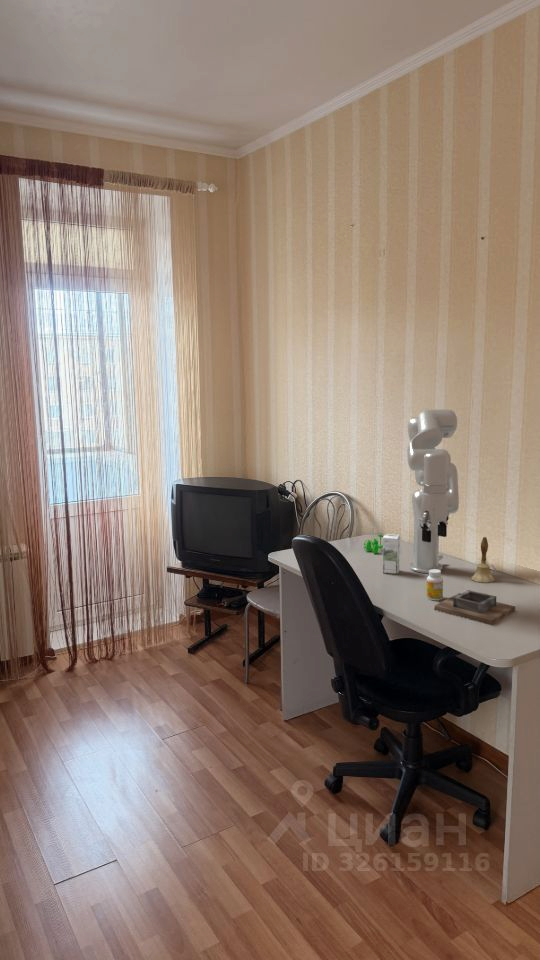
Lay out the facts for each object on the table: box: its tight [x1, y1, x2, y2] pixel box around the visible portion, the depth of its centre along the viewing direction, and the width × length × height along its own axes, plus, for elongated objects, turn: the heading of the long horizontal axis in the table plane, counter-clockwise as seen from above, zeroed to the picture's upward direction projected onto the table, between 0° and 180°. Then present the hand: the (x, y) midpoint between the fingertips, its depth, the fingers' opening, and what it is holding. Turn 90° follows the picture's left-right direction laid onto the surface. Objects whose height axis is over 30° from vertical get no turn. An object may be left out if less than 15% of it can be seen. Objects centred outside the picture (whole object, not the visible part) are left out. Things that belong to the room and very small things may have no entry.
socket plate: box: [434, 589, 516, 626], centre depth 225 cm, size 16×20×4 cm
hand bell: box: [471, 536, 496, 584], centre depth 255 cm, size 8×8×16 cm
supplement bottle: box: [426, 569, 444, 601], centre depth 237 cm, size 5×5×10 cm
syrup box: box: [382, 533, 401, 575], centre depth 267 cm, size 6×6×14 cm
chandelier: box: [363, 534, 384, 555], centre depth 297 cm, size 15×15×7 cm
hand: (434, 538), depth 235 cm, fingers open, 9 cm apart
